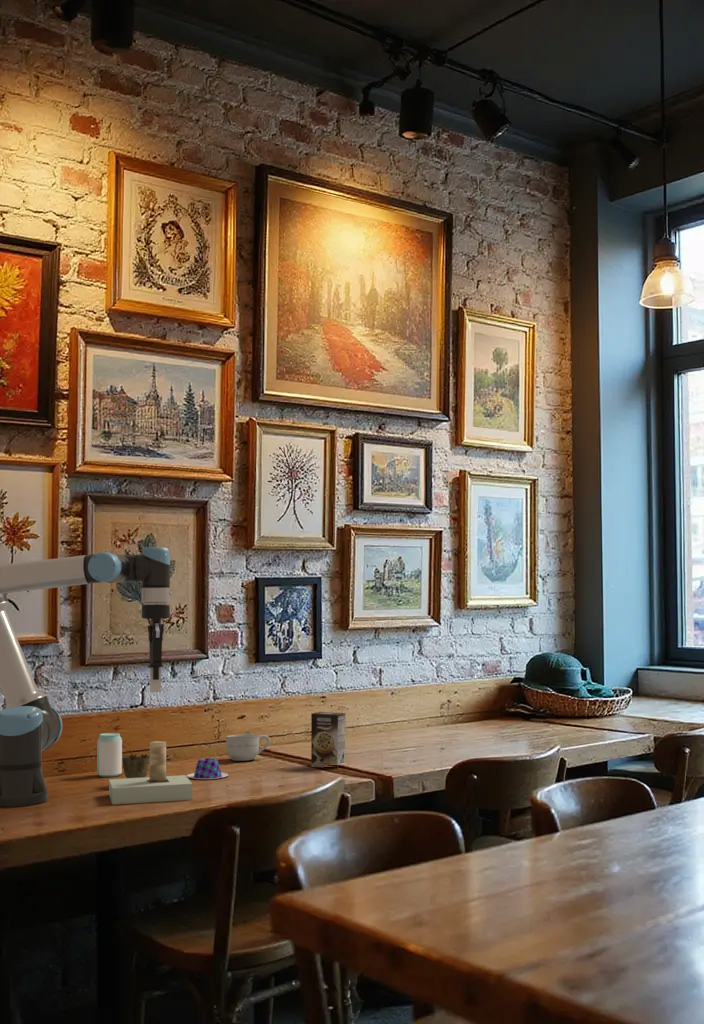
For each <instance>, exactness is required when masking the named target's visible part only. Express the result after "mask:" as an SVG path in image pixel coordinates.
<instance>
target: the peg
mask: <svg viewBox="0 0 704 1024" xmlns="http://www.w3.org/2000/svg"><path fill="white" fill-rule="evenodd" d="M166 776H167V741H164V740H163V741H162V740H155V741H150V742H149V777H150V779H149V781H150V783H164V782H166Z"/></svg>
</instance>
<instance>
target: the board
mask: <svg viewBox="0 0 704 1024" xmlns="http://www.w3.org/2000/svg"><path fill="white" fill-rule="evenodd" d="M149 779H150V776H147V777H146V776H145V777H143V778H126V777H124V778H112V779H111V778H110V779H108V795H109V799H110V801H111V805H124V804H127V805H128V804H142V803H143V804H144V803H161V802H174V801H175V802H177V801H189V800H193V783H192V782H191V780H190V778H189V777H187V775H184V774H183V775H181V774H180V775H166V782H164V783H150V781H149Z"/></svg>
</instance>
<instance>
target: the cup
mask: <svg viewBox="0 0 704 1024" xmlns="http://www.w3.org/2000/svg"><path fill="white" fill-rule="evenodd" d="M149 766H150V754H149V755H147V754H140V756H137V754H132V753H131V754H130V755H128V754H126V756H125V755H122V768H123V769H122V770H123V773H124V775H125V778H143V777H146V776H147V774H148V770H149Z"/></svg>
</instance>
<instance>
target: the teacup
mask: <svg viewBox="0 0 704 1024" xmlns="http://www.w3.org/2000/svg"><path fill="white" fill-rule="evenodd" d="M225 739H226V741H225V742H226V746H225V747H226V753H227V754H226V755H227V756H228V757H229V758H230V759H231V760H232V761H234V762H235V761H237V762H241V761H243V762H244V761H253V760H255V758H257V756H258V755H260V754H261V753H262V751H265V749H267V748H268V747H270V743H271V739H270V737H269V736H268V735H265V734H263V735H259V734H258V733H257V734H253V733H251V734H250V733H248V734H245V733H242V734H233V735H226V736H225ZM263 739H265V740H266V744H264V745H263V746H262V747H260V744H261V742H262V740H263Z"/></svg>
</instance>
